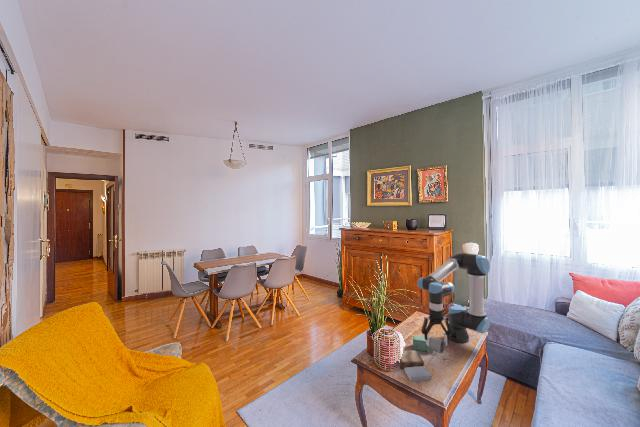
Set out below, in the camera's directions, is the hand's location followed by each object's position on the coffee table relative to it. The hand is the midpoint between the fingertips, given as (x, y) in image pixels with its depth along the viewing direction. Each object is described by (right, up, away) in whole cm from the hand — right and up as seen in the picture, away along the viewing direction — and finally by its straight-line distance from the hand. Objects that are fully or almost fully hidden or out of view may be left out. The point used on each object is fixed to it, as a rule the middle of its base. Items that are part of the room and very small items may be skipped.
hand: (436, 344), depth 162 cm
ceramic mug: (-1, -4, -1) cm, 4 cm away
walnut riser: (-14, -16, +9) cm, 23 cm away
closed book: (-13, -16, -4) cm, 21 cm away
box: (+1, -15, +25) cm, 29 cm away
